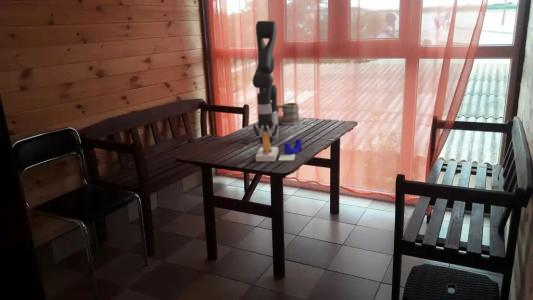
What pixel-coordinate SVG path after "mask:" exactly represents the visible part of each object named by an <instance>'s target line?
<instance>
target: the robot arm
mask: <svg viewBox="0 0 533 300" xmlns="http://www.w3.org/2000/svg"><path fill="white" fill-rule="evenodd" d="M255 34H256V44H257V67H256V69H255V72H254V75H253V77H252V85H253V87H255V88H257V89H258V92H257V94H256V95H257V97H256V99H257V120H258V121H257V124H253V126H252V128H253V131H254V133H255V136H256V137H259V142H260V143H261V145H263V139H262V134H263V133H269V135H270V143H271V144H272V143H273V142H274V140H278V139H279V138H280V135H279V134H280V133H279V122H278V119H279V116H278V114H279V112H277V105H278V88H277V86H276V84H273V83H274V77H273V75H272V73H273V72H274V70H275V57H274V55H273V51H274V47H275V43H276V38H277V23H276V22H275V21H273V20H258V21H257V22H256V25H255ZM264 39H265V40H267V39H268V41H267V43H265V40H264ZM258 128H259V129H260V130H258Z"/></svg>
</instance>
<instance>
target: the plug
mask: <svg viewBox="0 0 533 300" xmlns="http://www.w3.org/2000/svg"><path fill="white" fill-rule="evenodd" d="M262 139H263V144H262V147H263V152H264V153H270V152H271V147H272V146H271V145H272V143H270V135H269V133H264V132H263V134H262Z"/></svg>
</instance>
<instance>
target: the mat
mask: <svg viewBox="0 0 533 300" xmlns="http://www.w3.org/2000/svg"><path fill="white" fill-rule="evenodd" d="M295 157H296V153H295V154H292V155H288V154H284V153H283V154H280V155H279V158H278V162H295V161H294V160H295Z"/></svg>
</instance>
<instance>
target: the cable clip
mask: <svg viewBox="0 0 533 300" xmlns="http://www.w3.org/2000/svg"><path fill="white" fill-rule="evenodd" d="M302 141H303V140H302V139H300V138H297V139H295V142H294V145H293V147H291V143H290V142H284V143H283V148H284V151H283V152H284V153H283V154H288V155H292V154H295V155H296V154H298V152H300V151H303V147H302V146H303V145H302V143H303V142H302Z"/></svg>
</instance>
